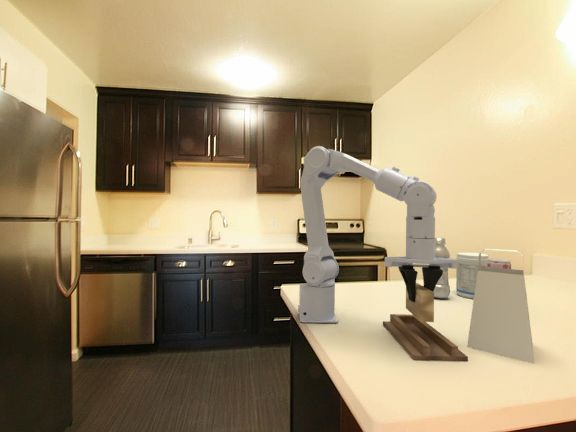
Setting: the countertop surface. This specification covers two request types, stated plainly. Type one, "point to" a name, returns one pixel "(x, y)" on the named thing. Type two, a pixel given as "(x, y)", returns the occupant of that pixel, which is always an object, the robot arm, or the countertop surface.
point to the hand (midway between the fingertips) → (419, 300)
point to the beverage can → (499, 263)
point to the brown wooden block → (422, 304)
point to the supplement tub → (468, 272)
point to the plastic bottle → (443, 284)
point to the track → (422, 339)
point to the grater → (501, 313)
